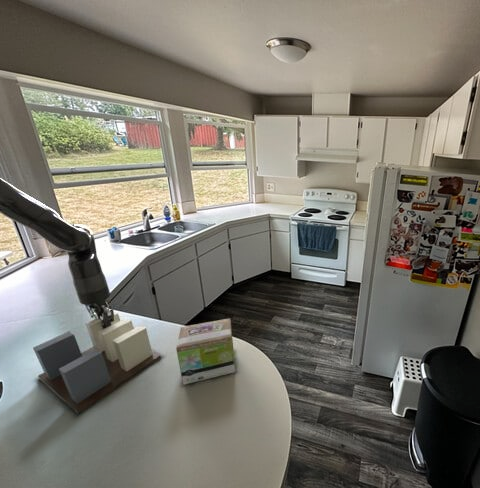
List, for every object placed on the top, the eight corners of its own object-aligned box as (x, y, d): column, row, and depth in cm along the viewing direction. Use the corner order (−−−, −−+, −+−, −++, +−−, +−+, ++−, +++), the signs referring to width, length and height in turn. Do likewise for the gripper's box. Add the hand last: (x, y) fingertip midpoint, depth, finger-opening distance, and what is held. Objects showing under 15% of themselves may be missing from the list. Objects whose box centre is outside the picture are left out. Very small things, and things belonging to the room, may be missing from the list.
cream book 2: (112, 362, 81) (103, 334, 77) (107, 358, 82) (98, 331, 78) (138, 346, 88) (131, 320, 84) (133, 343, 89) (126, 317, 85)
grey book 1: (50, 380, 74) (37, 351, 70) (46, 376, 75) (32, 347, 71) (84, 361, 81) (73, 334, 77) (79, 358, 82) (69, 331, 78)
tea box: (183, 387, 75) (174, 348, 70) (186, 362, 83) (179, 325, 78) (235, 373, 80) (231, 335, 75) (234, 351, 89) (230, 316, 84)
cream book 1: (99, 353, 84) (89, 326, 80) (94, 350, 85) (85, 323, 82) (125, 338, 91) (118, 313, 87) (121, 335, 92) (113, 310, 88)
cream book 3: (126, 371, 78) (117, 343, 74) (121, 368, 79) (112, 340, 75) (152, 354, 84) (146, 328, 81) (147, 351, 86) (140, 325, 82)
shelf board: (78, 414, 66) (77, 411, 66) (39, 378, 76) (37, 375, 75) (161, 358, 85) (160, 355, 84) (121, 335, 94) (120, 332, 94)
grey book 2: (77, 404, 68) (64, 373, 64) (71, 399, 69) (58, 368, 65) (111, 381, 74) (101, 352, 71) (106, 377, 76) (96, 348, 72)
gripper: (65, 286, 80) (82, 330, 86) (88, 297, 74) (104, 344, 80) (94, 276, 86) (107, 318, 92) (117, 286, 80) (129, 330, 86)
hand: (106, 330), depth 86 cm, fingers closed on cream book 1, 3 cm apart
